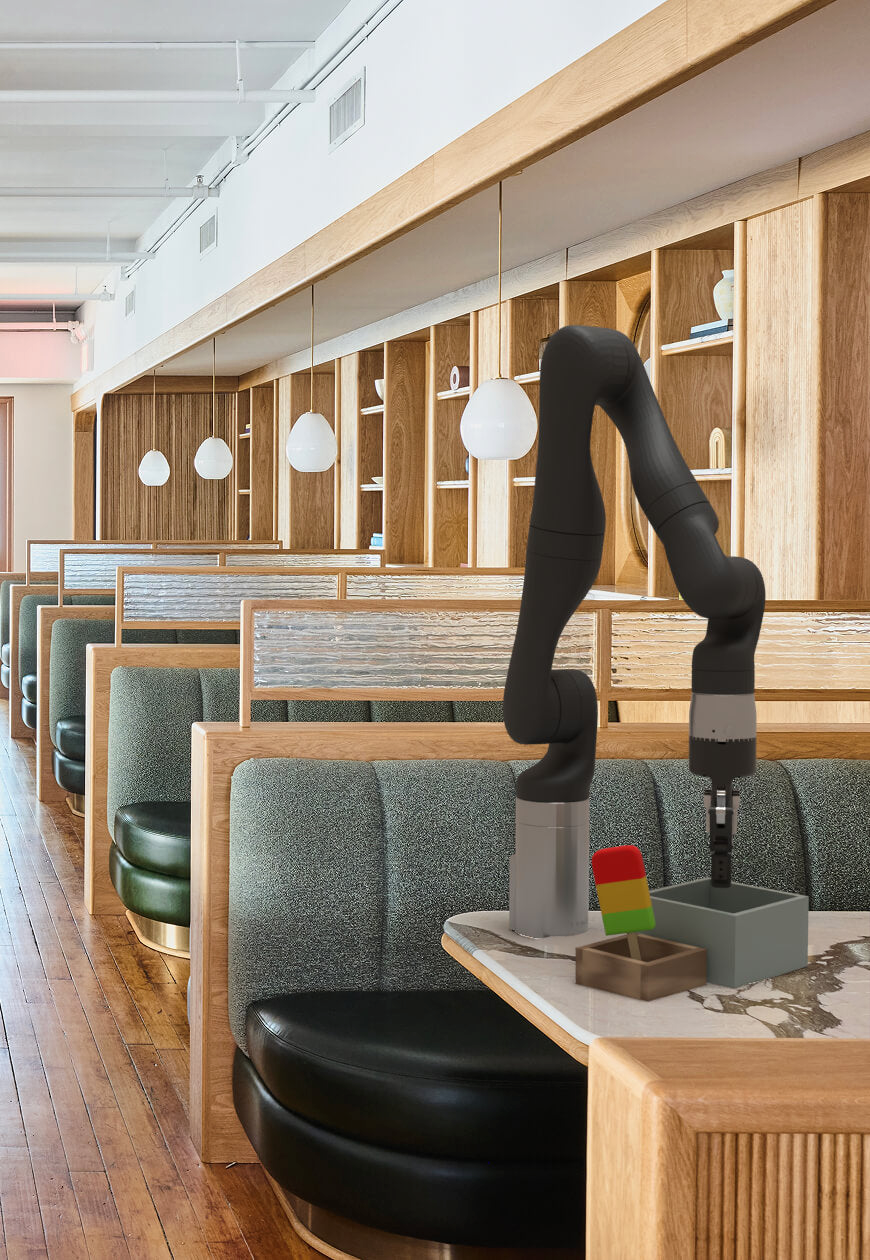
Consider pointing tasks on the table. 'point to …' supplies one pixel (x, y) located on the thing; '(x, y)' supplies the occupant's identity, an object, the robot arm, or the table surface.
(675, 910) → the bin
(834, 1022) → the table surface
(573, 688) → the robot arm
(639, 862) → the popsicle
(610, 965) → the collar
